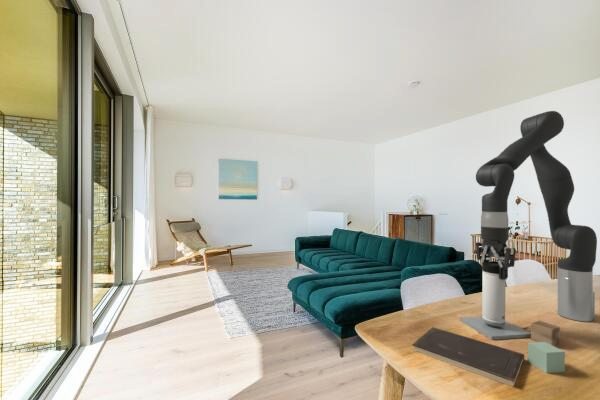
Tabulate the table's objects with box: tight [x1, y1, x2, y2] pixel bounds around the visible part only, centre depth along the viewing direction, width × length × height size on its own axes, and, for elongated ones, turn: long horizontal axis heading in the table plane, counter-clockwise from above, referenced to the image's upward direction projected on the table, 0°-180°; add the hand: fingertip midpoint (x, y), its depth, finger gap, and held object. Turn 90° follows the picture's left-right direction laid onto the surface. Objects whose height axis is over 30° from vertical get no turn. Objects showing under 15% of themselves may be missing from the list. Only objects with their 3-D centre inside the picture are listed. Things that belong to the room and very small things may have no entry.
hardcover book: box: [411, 326, 525, 387], centre depth 78 cm, size 16×23×2 cm
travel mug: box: [481, 260, 506, 326], centre depth 94 cm, size 6×7×20 cm
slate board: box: [459, 316, 531, 340], centre depth 94 cm, size 14×14×1 cm
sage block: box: [527, 341, 566, 374], centre depth 73 cm, size 5×5×5 cm
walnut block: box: [530, 320, 561, 347], centre depth 86 cm, size 5×5×5 cm
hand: (494, 276), depth 94 cm, fingers closed on travel mug, 6 cm apart
